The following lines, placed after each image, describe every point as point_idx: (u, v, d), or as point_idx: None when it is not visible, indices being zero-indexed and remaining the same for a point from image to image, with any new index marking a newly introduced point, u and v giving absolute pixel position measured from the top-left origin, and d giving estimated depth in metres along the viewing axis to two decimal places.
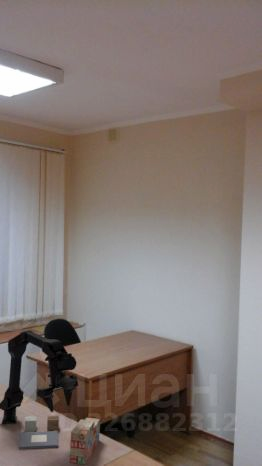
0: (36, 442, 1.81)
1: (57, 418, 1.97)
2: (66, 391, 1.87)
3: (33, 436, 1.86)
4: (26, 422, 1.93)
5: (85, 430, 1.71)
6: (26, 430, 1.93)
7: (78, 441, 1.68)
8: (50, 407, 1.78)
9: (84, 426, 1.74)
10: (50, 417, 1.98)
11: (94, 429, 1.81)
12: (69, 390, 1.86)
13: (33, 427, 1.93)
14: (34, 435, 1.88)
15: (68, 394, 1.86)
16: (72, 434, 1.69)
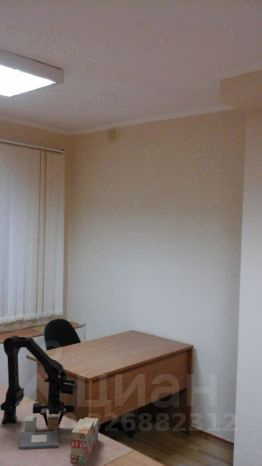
0: (36, 442, 1.81)
1: (57, 418, 1.97)
2: (60, 412, 1.99)
3: (33, 436, 1.86)
4: (26, 422, 1.93)
5: (85, 430, 1.71)
6: (26, 430, 1.93)
7: (79, 440, 1.68)
8: (45, 422, 1.97)
9: (84, 426, 1.74)
10: (50, 417, 1.98)
11: (93, 428, 1.81)
12: (60, 413, 1.97)
13: (33, 427, 1.93)
14: (34, 435, 1.88)
15: (59, 416, 1.98)
16: (73, 434, 1.69)
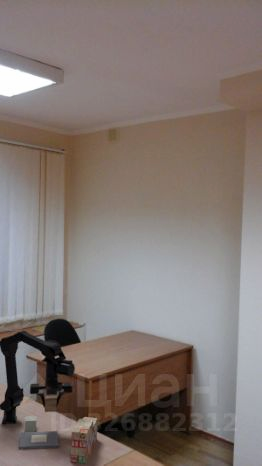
0: (36, 442, 1.81)
1: (55, 399, 1.94)
2: (57, 393, 1.96)
3: (33, 436, 1.86)
4: (26, 422, 1.93)
5: (85, 429, 1.71)
6: (26, 430, 1.93)
7: (79, 440, 1.69)
8: None
9: (84, 425, 1.74)
10: (48, 398, 1.95)
11: (93, 428, 1.82)
12: (58, 394, 1.94)
13: (33, 427, 1.93)
14: (34, 435, 1.88)
15: (57, 397, 1.94)
16: (73, 434, 1.69)
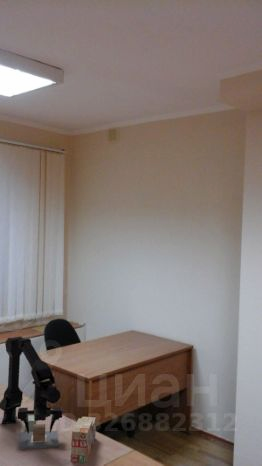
0: (36, 442, 1.81)
1: (44, 427, 1.85)
2: (51, 417, 1.87)
3: None
4: None
5: (86, 429, 1.72)
6: (26, 430, 1.93)
7: (79, 440, 1.69)
8: (26, 428, 1.84)
9: (84, 425, 1.75)
10: (36, 426, 1.86)
11: (92, 427, 1.82)
12: (51, 418, 1.85)
13: None
14: None
15: (51, 421, 1.86)
16: (73, 433, 1.69)
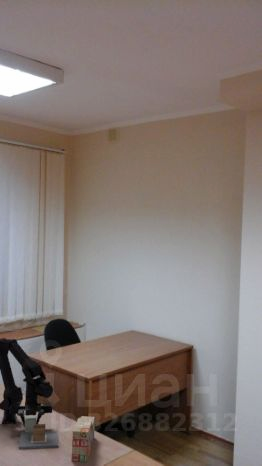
0: (36, 442, 1.81)
1: (44, 427, 1.85)
2: None
3: None
4: (26, 422, 1.93)
5: (86, 428, 1.72)
6: (26, 430, 1.93)
7: (80, 439, 1.69)
8: None
9: (84, 424, 1.75)
10: (36, 426, 1.86)
11: (92, 427, 1.83)
12: (38, 414, 1.95)
13: (33, 426, 1.93)
14: None
15: (37, 417, 1.96)
16: (74, 433, 1.70)
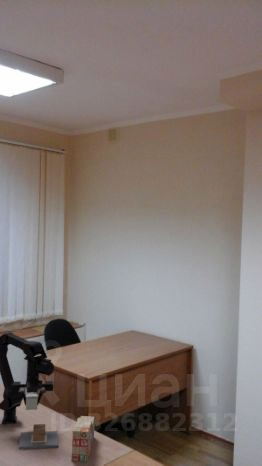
0: (36, 442, 1.81)
1: (44, 427, 1.85)
2: (39, 391, 1.97)
3: None
4: (27, 400, 1.93)
5: (86, 428, 1.73)
6: (27, 408, 1.93)
7: (80, 439, 1.70)
8: (24, 401, 1.95)
9: (84, 424, 1.75)
10: (36, 426, 1.86)
11: (91, 427, 1.83)
12: (39, 392, 1.95)
13: (34, 404, 1.93)
14: None
15: (38, 395, 1.96)
16: (74, 433, 1.70)
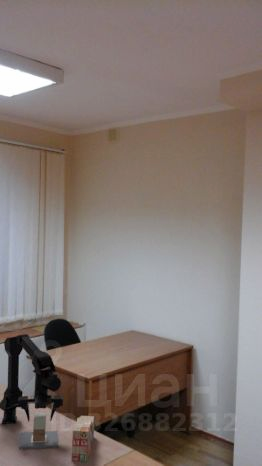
0: (36, 442, 1.81)
1: None
2: (52, 406, 1.87)
3: None
4: (35, 419, 1.82)
5: (86, 428, 1.73)
6: (35, 427, 1.82)
7: (80, 438, 1.70)
8: (27, 417, 1.84)
9: (84, 424, 1.76)
10: None
11: (91, 426, 1.83)
12: (52, 407, 1.85)
13: (42, 424, 1.83)
14: None
15: (51, 410, 1.86)
16: (74, 432, 1.70)
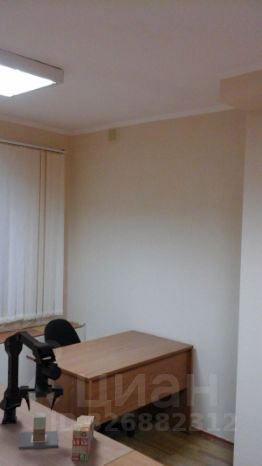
0: (36, 442, 1.81)
1: None
2: (52, 396, 1.87)
3: None
4: (35, 419, 1.82)
5: (86, 427, 1.73)
6: (35, 427, 1.82)
7: (80, 438, 1.70)
8: None
9: (84, 424, 1.76)
10: None
11: (91, 426, 1.84)
12: (53, 396, 1.85)
13: (42, 424, 1.83)
14: None
15: (52, 399, 1.86)
16: (74, 432, 1.70)
